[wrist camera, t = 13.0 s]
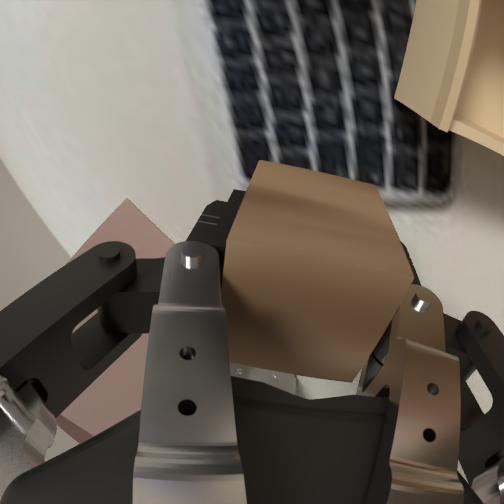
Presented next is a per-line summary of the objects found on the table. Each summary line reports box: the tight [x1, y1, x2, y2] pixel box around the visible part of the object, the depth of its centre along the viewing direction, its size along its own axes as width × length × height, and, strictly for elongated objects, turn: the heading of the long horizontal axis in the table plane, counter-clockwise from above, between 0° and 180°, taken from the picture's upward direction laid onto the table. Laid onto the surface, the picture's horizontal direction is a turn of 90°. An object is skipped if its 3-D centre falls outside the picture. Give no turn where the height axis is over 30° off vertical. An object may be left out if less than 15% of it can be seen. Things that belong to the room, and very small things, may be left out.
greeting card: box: [56, 198, 175, 444], centre depth 19 cm, size 11×7×15 cm, turn 7°
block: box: [221, 160, 415, 382], centre depth 10 cm, size 4×4×5 cm
